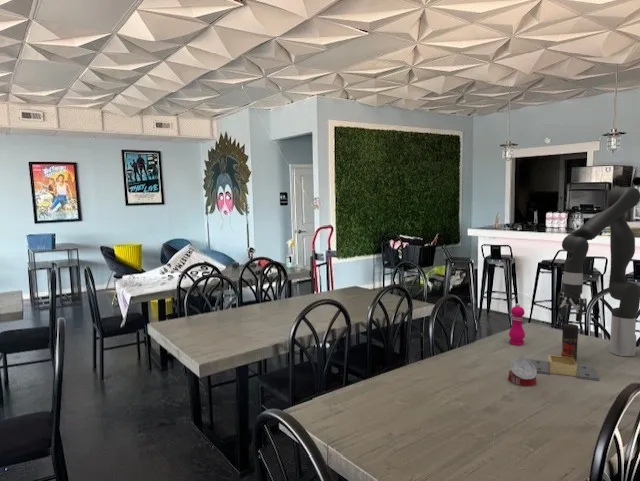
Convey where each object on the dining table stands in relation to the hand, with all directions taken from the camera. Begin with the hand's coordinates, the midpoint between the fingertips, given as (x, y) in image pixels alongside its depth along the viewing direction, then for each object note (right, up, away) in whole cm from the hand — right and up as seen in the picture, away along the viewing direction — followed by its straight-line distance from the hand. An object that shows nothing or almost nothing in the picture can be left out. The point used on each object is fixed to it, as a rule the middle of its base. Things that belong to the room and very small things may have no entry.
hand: (570, 318), depth 200 cm
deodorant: (0, -18, +2) cm, 18 cm away
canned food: (-31, -21, -21) cm, 43 cm away
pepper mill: (-14, -16, +23) cm, 31 cm away
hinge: (-10, -20, -11) cm, 25 cm away
